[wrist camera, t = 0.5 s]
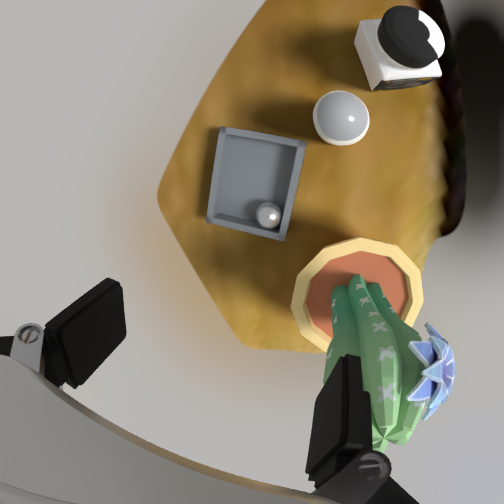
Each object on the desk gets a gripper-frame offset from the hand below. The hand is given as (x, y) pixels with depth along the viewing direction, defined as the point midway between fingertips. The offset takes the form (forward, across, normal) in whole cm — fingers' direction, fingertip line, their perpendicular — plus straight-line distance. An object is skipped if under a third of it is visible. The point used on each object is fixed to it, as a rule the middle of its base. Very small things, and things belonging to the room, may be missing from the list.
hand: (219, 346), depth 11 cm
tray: (+27, +5, -2) cm, 27 cm away
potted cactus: (+27, -10, +7) cm, 30 cm away
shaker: (+27, -3, -11) cm, 29 cm away
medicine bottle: (+27, -8, -21) cm, 35 cm away
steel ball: (+26, +2, +2) cm, 26 cm away
